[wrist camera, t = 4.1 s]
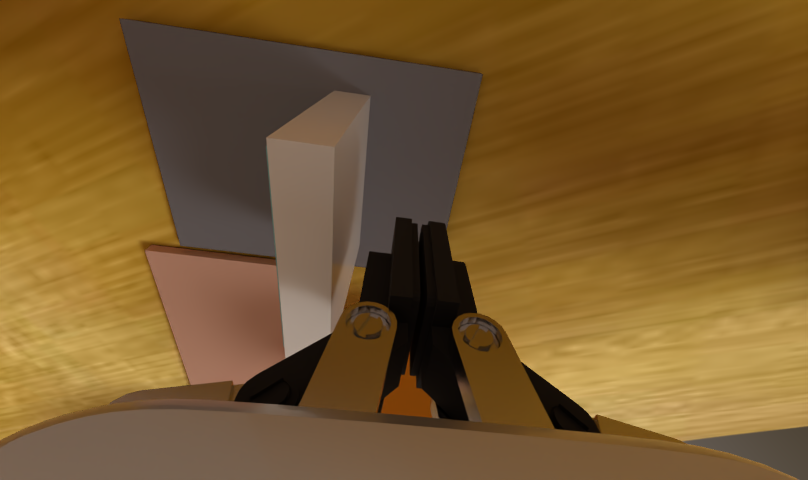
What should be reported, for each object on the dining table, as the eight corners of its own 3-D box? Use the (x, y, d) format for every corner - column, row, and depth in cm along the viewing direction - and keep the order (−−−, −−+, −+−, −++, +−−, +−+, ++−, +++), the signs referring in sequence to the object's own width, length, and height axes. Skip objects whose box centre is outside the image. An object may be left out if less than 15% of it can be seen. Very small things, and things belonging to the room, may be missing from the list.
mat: (481, 73, 14) (482, 74, 14) (435, 271, 20) (435, 275, 20) (126, 18, 14) (119, 18, 13) (184, 241, 19) (180, 245, 19)
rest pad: (320, 264, 20) (318, 270, 20) (320, 399, 27) (318, 406, 27) (151, 244, 19) (144, 250, 19) (197, 387, 27) (193, 394, 26)
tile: (370, 95, 15) (334, 147, 8) (359, 245, 19) (329, 364, 12) (331, 89, 14) (259, 136, 8) (328, 241, 19) (281, 359, 12)
